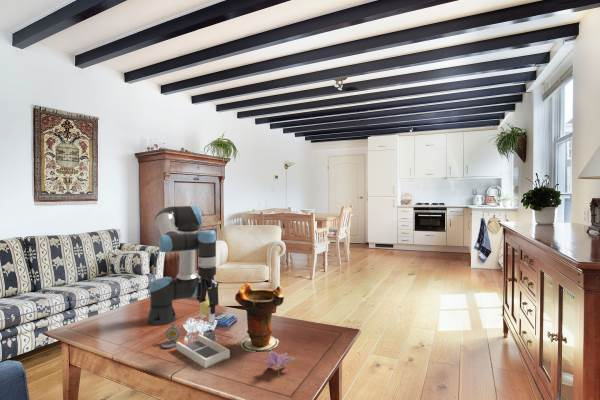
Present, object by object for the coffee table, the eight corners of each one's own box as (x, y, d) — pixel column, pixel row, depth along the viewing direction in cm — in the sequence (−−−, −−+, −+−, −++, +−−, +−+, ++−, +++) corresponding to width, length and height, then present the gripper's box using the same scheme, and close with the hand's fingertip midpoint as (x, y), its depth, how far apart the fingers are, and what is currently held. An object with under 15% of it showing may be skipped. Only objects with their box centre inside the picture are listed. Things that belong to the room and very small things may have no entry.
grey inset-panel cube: (203, 340, 163) (203, 331, 162) (210, 337, 166) (210, 329, 165) (208, 342, 160) (208, 334, 160) (215, 339, 163) (215, 331, 163)
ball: (197, 314, 145) (197, 301, 145) (209, 311, 150) (209, 298, 150) (205, 318, 141) (205, 304, 141) (217, 314, 146) (217, 300, 146)
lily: (299, 374, 134) (295, 348, 138) (287, 376, 124) (284, 348, 128) (272, 379, 137) (269, 353, 142) (259, 381, 127) (256, 354, 132)
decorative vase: (286, 352, 149) (283, 290, 149) (235, 356, 148) (231, 293, 147) (285, 332, 170) (282, 278, 170) (240, 336, 169) (237, 281, 168)
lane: (176, 349, 152) (176, 342, 152) (199, 341, 161) (199, 334, 161) (205, 368, 136) (205, 360, 136) (229, 357, 145) (229, 349, 145)
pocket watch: (162, 350, 152) (162, 328, 152) (160, 342, 159) (160, 322, 159) (181, 346, 156) (181, 325, 156) (178, 339, 163) (178, 319, 163)
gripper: (188, 264, 149) (188, 316, 149) (212, 270, 136) (212, 327, 136) (202, 261, 154) (203, 311, 155) (227, 267, 142) (227, 322, 142)
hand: (207, 318), depth 146 cm, fingers closed on ball, 6 cm apart
